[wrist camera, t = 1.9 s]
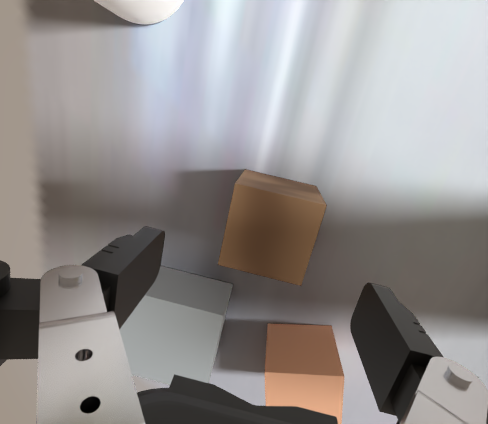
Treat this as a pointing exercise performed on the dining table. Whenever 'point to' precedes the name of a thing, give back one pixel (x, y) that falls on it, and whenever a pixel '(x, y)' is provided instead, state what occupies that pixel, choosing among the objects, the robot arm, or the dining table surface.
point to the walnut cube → (272, 226)
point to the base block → (176, 327)
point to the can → (142, 9)
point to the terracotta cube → (303, 368)
